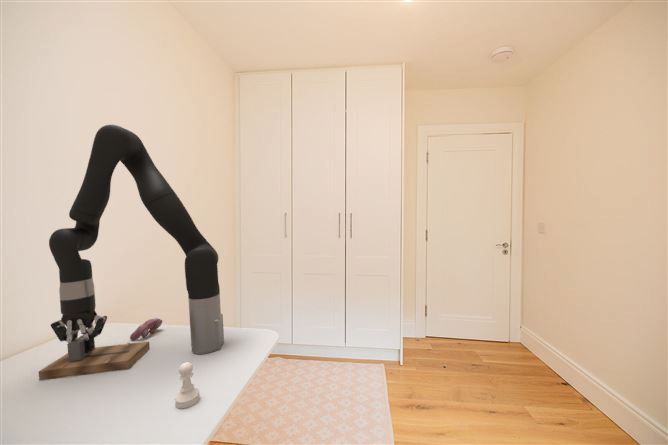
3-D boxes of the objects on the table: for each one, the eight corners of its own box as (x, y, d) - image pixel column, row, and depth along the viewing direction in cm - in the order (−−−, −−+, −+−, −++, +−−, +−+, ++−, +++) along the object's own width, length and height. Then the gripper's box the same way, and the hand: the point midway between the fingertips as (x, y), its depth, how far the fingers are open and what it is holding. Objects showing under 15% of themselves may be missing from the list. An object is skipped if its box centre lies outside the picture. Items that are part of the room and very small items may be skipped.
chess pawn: (194, 391, 66) (192, 355, 66) (203, 399, 63) (201, 361, 63) (171, 403, 63) (169, 364, 62) (180, 412, 59) (178, 372, 59)
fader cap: (95, 349, 84) (93, 333, 84) (80, 359, 78) (79, 342, 78) (83, 351, 84) (82, 334, 84) (68, 361, 78) (67, 343, 78)
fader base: (149, 348, 90) (149, 340, 90) (129, 369, 78) (128, 359, 78) (73, 357, 86) (72, 349, 86) (39, 380, 74) (38, 370, 74)
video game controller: (137, 345, 96) (144, 328, 95) (127, 339, 97) (133, 322, 96) (160, 333, 106) (166, 318, 105) (151, 328, 106) (157, 312, 105)
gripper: (112, 289, 85) (116, 343, 86) (60, 293, 83) (64, 349, 84) (95, 296, 78) (100, 355, 79) (38, 301, 76) (43, 362, 76)
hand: (81, 352), depth 81 cm, fingers closed on fader cap, 3 cm apart
